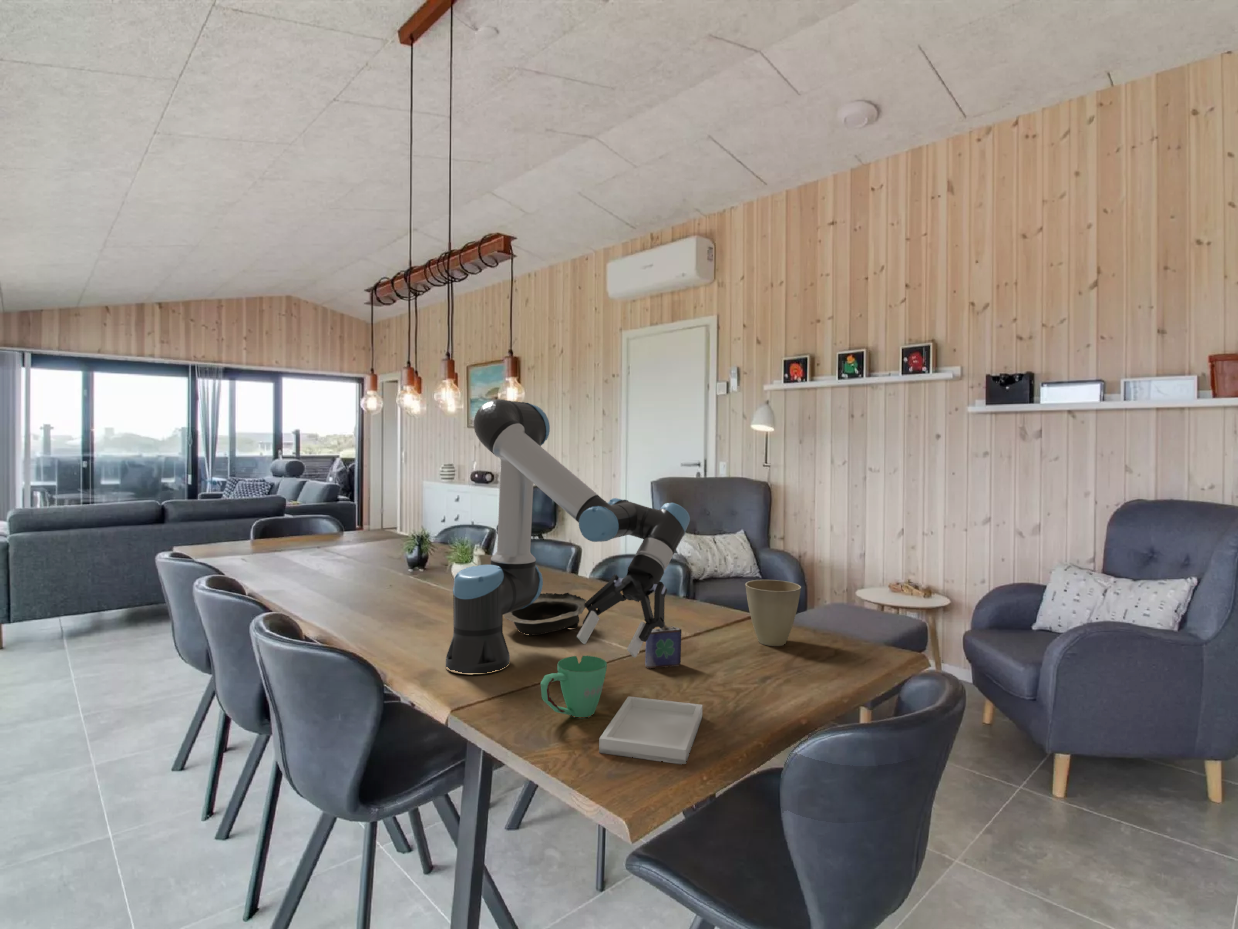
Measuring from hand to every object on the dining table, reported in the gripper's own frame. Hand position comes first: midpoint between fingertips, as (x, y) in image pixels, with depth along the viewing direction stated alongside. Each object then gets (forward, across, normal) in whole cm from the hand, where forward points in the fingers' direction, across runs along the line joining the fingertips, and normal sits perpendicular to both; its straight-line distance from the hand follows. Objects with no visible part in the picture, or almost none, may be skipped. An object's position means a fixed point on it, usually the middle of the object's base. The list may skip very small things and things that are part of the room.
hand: (605, 646), depth 130 cm
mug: (+15, +1, -3) cm, 15 cm away
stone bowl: (-12, +50, -30) cm, 59 cm away
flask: (-11, +6, -29) cm, 31 cm away
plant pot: (-36, -5, -54) cm, 65 cm away
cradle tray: (+12, -16, -6) cm, 20 cm away
